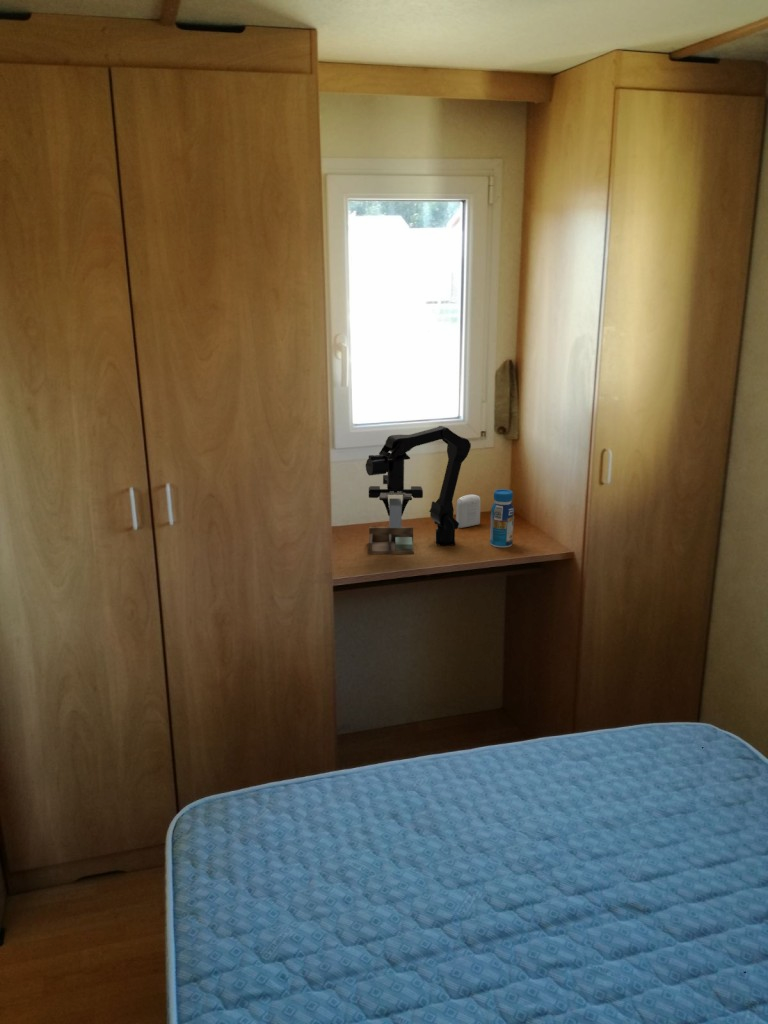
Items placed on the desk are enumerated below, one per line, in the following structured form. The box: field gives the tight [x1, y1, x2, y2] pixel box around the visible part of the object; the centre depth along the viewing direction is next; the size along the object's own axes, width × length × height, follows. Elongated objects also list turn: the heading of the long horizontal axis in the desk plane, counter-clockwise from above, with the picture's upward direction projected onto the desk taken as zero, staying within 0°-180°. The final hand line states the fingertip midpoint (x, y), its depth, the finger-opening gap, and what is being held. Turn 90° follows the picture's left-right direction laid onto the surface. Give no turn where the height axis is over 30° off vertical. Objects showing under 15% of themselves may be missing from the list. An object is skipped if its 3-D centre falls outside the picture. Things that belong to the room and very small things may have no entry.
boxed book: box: [388, 498, 403, 528], centre depth 275 cm, size 4×9×8 cm, turn 1°
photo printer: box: [455, 494, 482, 529], centre depth 305 cm, size 10×4×12 cm, turn 123°
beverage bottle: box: [489, 488, 515, 549], centre depth 283 cm, size 8×8×20 cm
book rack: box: [368, 526, 415, 555], centre depth 281 cm, size 16×12×6 cm
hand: (395, 515), depth 275 cm, fingers closed on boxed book, 4 cm apart
